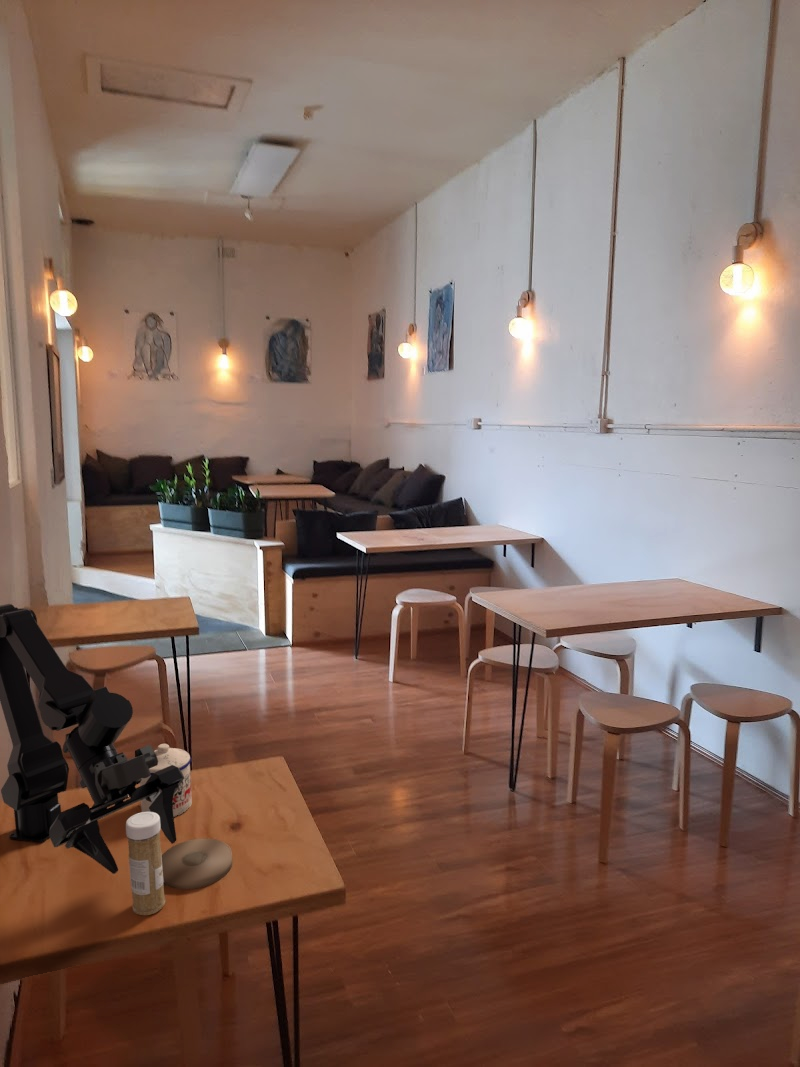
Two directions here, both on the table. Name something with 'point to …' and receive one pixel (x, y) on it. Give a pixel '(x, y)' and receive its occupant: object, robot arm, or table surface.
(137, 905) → the sprinkles bottle
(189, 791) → the cream ceramic jar
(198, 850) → the grey-brown round disc
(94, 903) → the table surface
